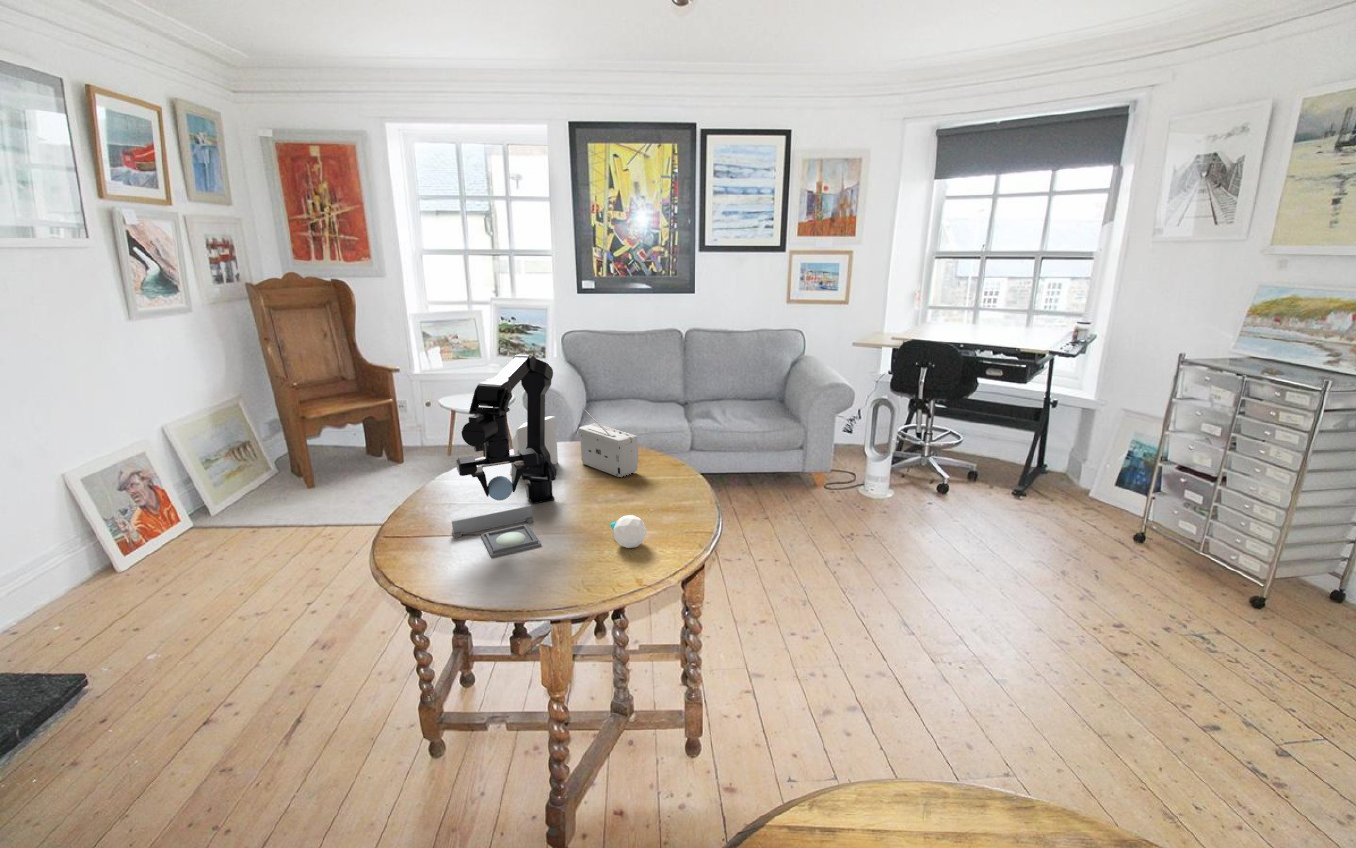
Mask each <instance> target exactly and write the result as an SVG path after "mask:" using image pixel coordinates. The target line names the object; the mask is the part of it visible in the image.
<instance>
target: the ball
mask: <svg viewBox="0 0 1356 848" xmlns="http://www.w3.org/2000/svg"><path fill="white" fill-rule="evenodd" d="M487 486H488V492H489V497H490V498H491V499H493V500H494V501H504V500H506V499H508V498H509V497H510V496H511V495H512V493H513V492H512V489H513V487H512V480H510V479H509V478H508V477H506V476H503V475H499V476H498V475H497V476H495V477H493V478H492V479H491V480H490V481H489V482H488V483H487Z"/></svg>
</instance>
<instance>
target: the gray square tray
mask: <svg viewBox="0 0 1356 848" xmlns="http://www.w3.org/2000/svg"><path fill="white" fill-rule="evenodd" d="M480 537H481V538H482V541H483V543H484V545H485V548H486V550H487V552H488V553H489V556H490V558H495V557H496V558H497V557H501V556H505V555H508V554H513V553H517V552H522V551H526V550H530V549H534V548H539V547H542V542H541V541H540V539H539V538H538V536H537V534H535V532H534V531H533V529H532V528H531V526H530V525H529V523H528V524H527V523H524V524H520V525H516V526H509V527H506V528H501V529H496V530H492V531H487V532H484V533H481V534H480Z"/></svg>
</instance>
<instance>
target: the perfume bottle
mask: <svg viewBox="0 0 1356 848" xmlns="http://www.w3.org/2000/svg"><path fill="white" fill-rule="evenodd" d="M610 528H611V529H612V530H613V539H614V540H615V541H616V542H617V544H618V545H619V546H621V547H624V548H626V549H631V548H633V549H634V548H637V547H639V546H640V545H641V544H642V543H643V542H644V540H645V538H646V535H647V529H646V523H644V521H643V520H642V519H641V518H640V517H638V516H636V515H634V514H630V515H628V514H627V515H622V517H620V518H619V519H617V520H616V521H613V522H611V523H610Z"/></svg>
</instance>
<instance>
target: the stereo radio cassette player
mask: <svg viewBox="0 0 1356 848" xmlns="http://www.w3.org/2000/svg"><path fill="white" fill-rule="evenodd" d="M584 408H585V407H582V410H584V411H585V412H586V413H587V415H588V416H589V417H590V418H591V419H592V420H593V421H594V423H590V424H586V425H582V426H580V427H578V433H579V434H580V435H579V436H580V456H581V457H580V460H581V462H582V464H583V465H584V466H588V467H591V468H594V469H596V470H599V471H602V472H604V473H607V474H609V475H612V476H615V477H618V478H619V477H621V478H624V477H627V476H630V475H632V474H631V473H633V474H635V473H636V472H637V471H638V469H639V467H638V466H639V442H638V441H639V440H638V436H637V435H635V434H632V433H628V432H625V431H621V430H618V429H616V428H613V427H610V426H609V427H608V426H605V425H601V423H599V421H597V420H596V419H595V418H594V417H593V416H592V415H591V414H590V413H589V412H588V411H587V410H586V408H585V409H584ZM634 472H635V473H634ZM629 474H630V475H629ZM626 475H627V476H626ZM623 476H624V477H623Z"/></svg>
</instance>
